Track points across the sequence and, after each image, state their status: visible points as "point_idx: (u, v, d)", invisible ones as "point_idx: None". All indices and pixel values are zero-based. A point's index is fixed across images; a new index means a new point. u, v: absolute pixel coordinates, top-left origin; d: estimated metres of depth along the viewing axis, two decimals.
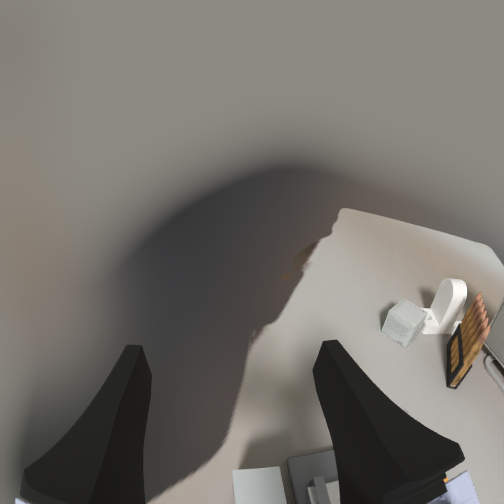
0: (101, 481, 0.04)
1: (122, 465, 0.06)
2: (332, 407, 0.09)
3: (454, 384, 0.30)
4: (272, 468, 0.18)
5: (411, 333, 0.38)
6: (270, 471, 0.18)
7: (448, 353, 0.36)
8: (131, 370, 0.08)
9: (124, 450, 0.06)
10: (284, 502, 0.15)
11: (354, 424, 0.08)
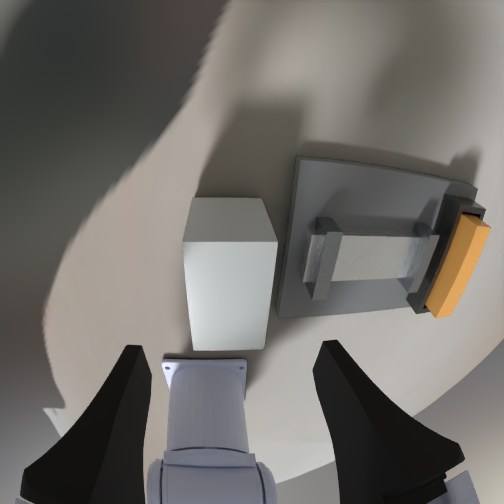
0: (101, 481, 0.04)
1: (122, 465, 0.06)
2: (332, 407, 0.09)
3: None
4: (263, 245, 0.12)
5: None
6: (257, 250, 0.12)
7: None
8: (131, 370, 0.08)
9: (124, 450, 0.06)
10: (266, 308, 0.14)
11: (354, 424, 0.08)
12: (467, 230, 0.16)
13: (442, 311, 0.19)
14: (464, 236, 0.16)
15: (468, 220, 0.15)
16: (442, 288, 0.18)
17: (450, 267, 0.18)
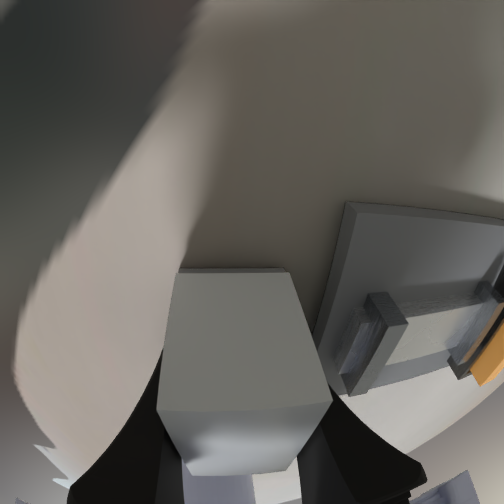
0: (159, 491, 0.04)
1: (170, 471, 0.06)
2: None
3: None
4: (307, 407, 0.06)
5: None
6: (294, 413, 0.06)
7: None
8: None
9: (171, 455, 0.07)
10: (296, 451, 0.08)
11: None
12: None
13: (488, 378, 0.12)
14: None
15: None
16: (493, 355, 0.12)
17: None
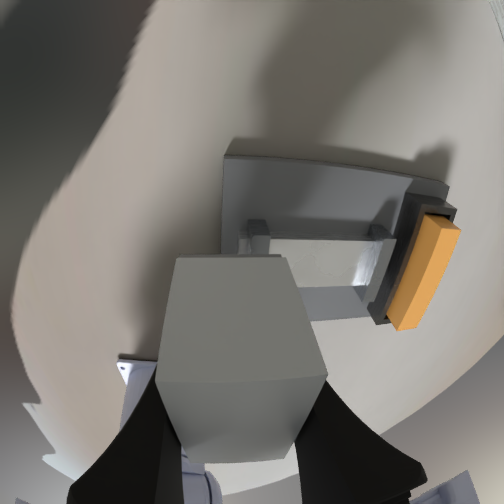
0: (158, 491, 0.04)
1: (170, 471, 0.06)
2: None
3: None
4: (303, 380, 0.06)
5: None
6: (290, 387, 0.06)
7: None
8: None
9: (171, 455, 0.07)
10: (294, 434, 0.08)
11: (311, 433, 0.07)
12: (431, 233, 0.15)
13: (404, 323, 0.18)
14: (427, 240, 0.15)
15: (432, 222, 0.15)
16: (404, 298, 0.18)
17: (412, 275, 0.17)
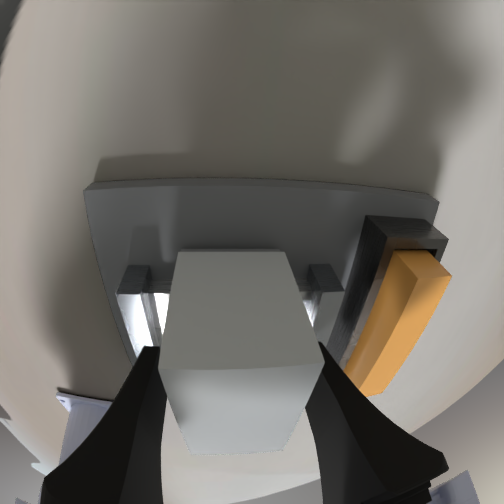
0: (127, 486, 0.04)
1: (144, 468, 0.06)
2: (315, 410, 0.09)
3: None
4: (300, 368, 0.06)
5: None
6: (288, 375, 0.07)
7: None
8: (151, 372, 0.08)
9: (145, 453, 0.06)
10: (292, 424, 0.08)
11: (335, 428, 0.07)
12: (401, 282, 0.10)
13: (363, 392, 0.13)
14: (396, 292, 0.10)
15: (404, 265, 0.10)
16: (362, 363, 0.13)
17: (374, 336, 0.12)
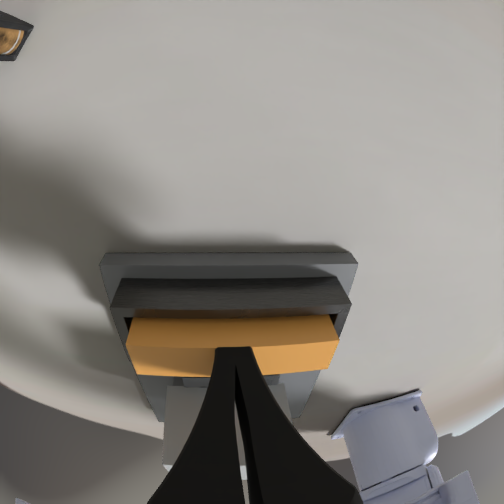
0: (242, 493, 0.05)
1: None
2: (240, 417, 0.09)
3: (13, 39, 0.05)
4: (167, 467, 0.11)
5: None
6: None
7: None
8: (234, 373, 0.09)
9: None
10: None
11: (248, 440, 0.07)
12: None
13: (315, 364, 0.11)
14: None
15: None
16: None
17: None
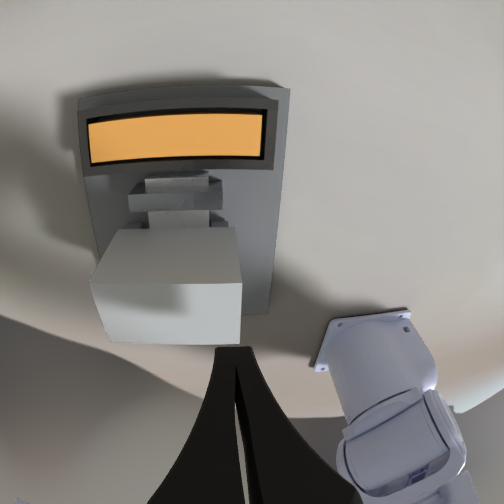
0: (242, 493, 0.05)
1: None
2: (240, 417, 0.09)
3: None
4: (94, 293, 0.11)
5: None
6: (100, 297, 0.12)
7: None
8: (234, 373, 0.09)
9: None
10: (165, 287, 0.12)
11: (248, 440, 0.07)
12: None
13: (245, 146, 0.13)
14: None
15: None
16: None
17: None
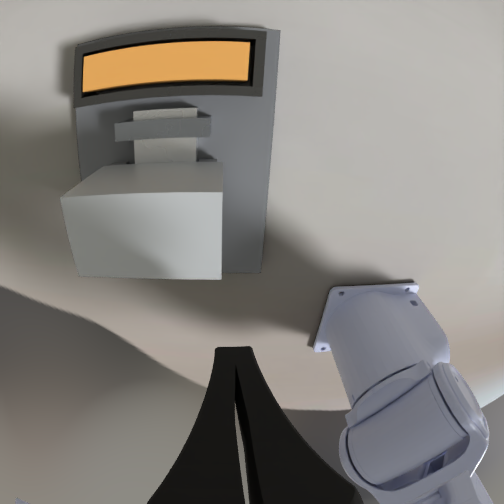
0: (242, 492, 0.05)
1: None
2: (240, 417, 0.09)
3: None
4: (65, 210, 0.10)
5: None
6: (70, 215, 0.10)
7: None
8: (234, 372, 0.09)
9: None
10: (137, 197, 0.10)
11: (248, 440, 0.07)
12: (100, 89, 0.11)
13: (233, 70, 0.11)
14: (110, 88, 0.11)
15: (92, 90, 0.11)
16: (196, 80, 0.12)
17: (160, 82, 0.12)
